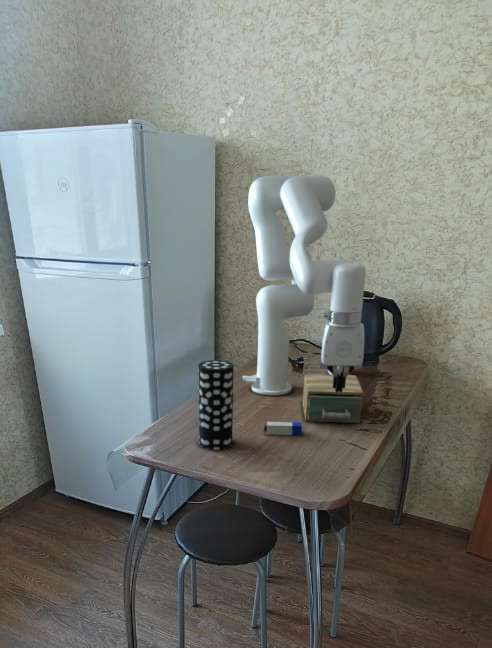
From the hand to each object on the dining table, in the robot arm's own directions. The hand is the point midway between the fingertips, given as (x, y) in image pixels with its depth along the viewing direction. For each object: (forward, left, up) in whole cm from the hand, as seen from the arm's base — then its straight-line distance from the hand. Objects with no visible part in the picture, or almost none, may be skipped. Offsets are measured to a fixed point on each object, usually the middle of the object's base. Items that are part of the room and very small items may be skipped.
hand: (338, 390), depth 148 cm
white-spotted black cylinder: (-31, -13, -11) cm, 35 cm away
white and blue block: (-14, -5, -10) cm, 18 cm away
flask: (+6, +50, -11) cm, 52 cm away
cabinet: (0, +12, -10) cm, 16 cm away
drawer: (0, +7, -9) cm, 12 cm away
